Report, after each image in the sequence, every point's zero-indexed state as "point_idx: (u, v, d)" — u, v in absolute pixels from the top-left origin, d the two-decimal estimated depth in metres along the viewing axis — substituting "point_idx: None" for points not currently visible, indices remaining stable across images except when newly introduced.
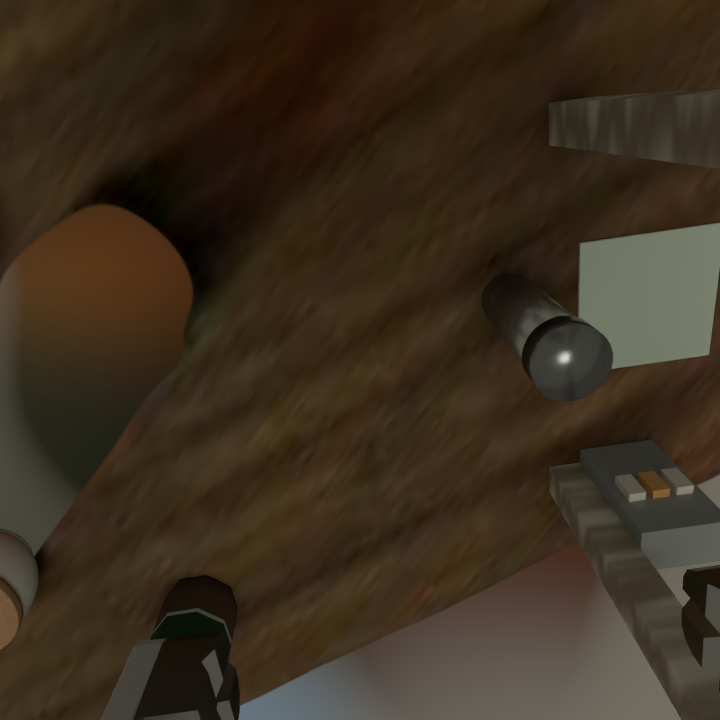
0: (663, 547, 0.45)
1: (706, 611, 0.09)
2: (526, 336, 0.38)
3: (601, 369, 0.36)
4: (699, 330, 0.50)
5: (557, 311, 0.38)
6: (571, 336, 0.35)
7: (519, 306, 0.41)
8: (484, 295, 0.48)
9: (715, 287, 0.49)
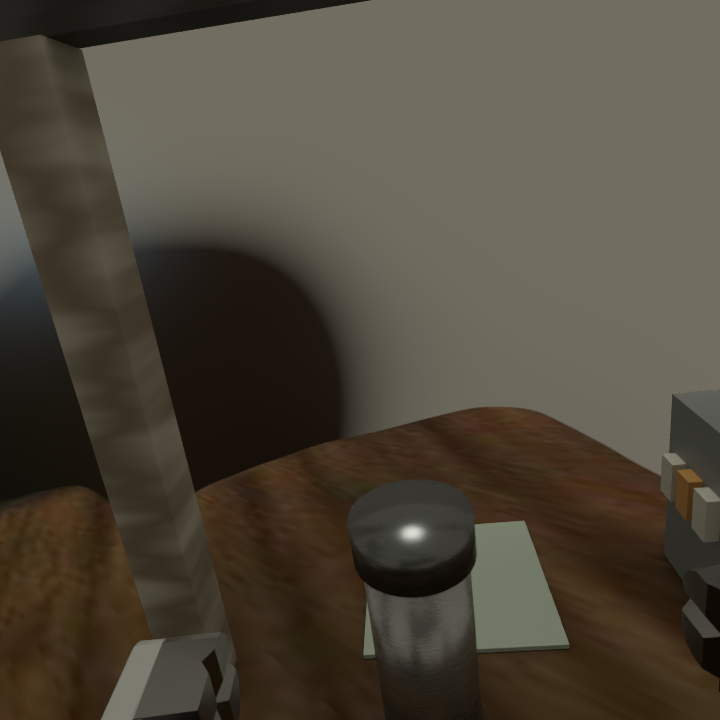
0: None
1: (706, 611, 0.09)
2: (389, 605, 0.22)
3: (423, 487, 0.25)
4: (493, 532, 0.43)
5: None
6: (363, 517, 0.23)
7: (382, 664, 0.24)
8: None
9: None
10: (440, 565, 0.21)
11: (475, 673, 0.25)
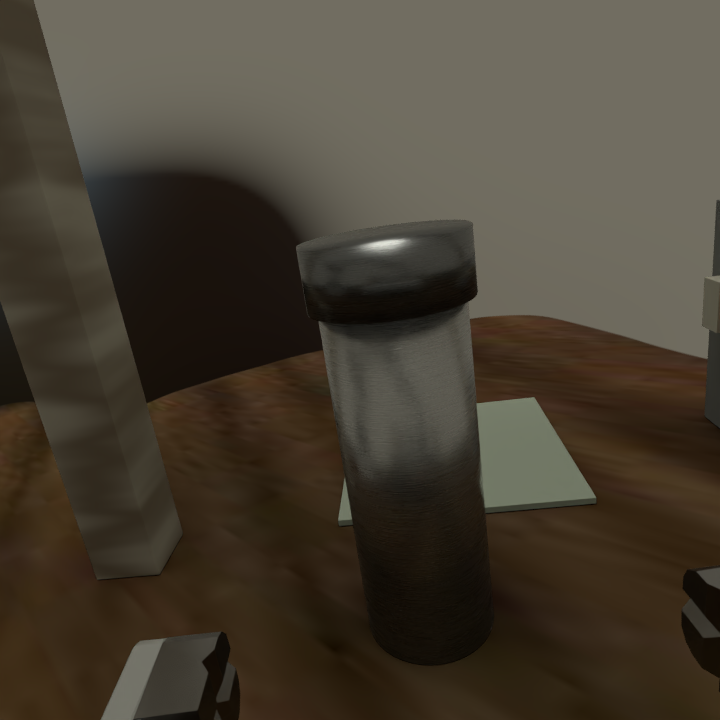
0: None
1: (706, 611, 0.09)
2: (354, 349, 0.16)
3: (403, 225, 0.18)
4: (497, 408, 0.36)
5: None
6: (318, 243, 0.17)
7: (349, 461, 0.18)
8: (410, 652, 0.19)
9: None
10: (424, 269, 0.15)
11: (478, 474, 0.18)
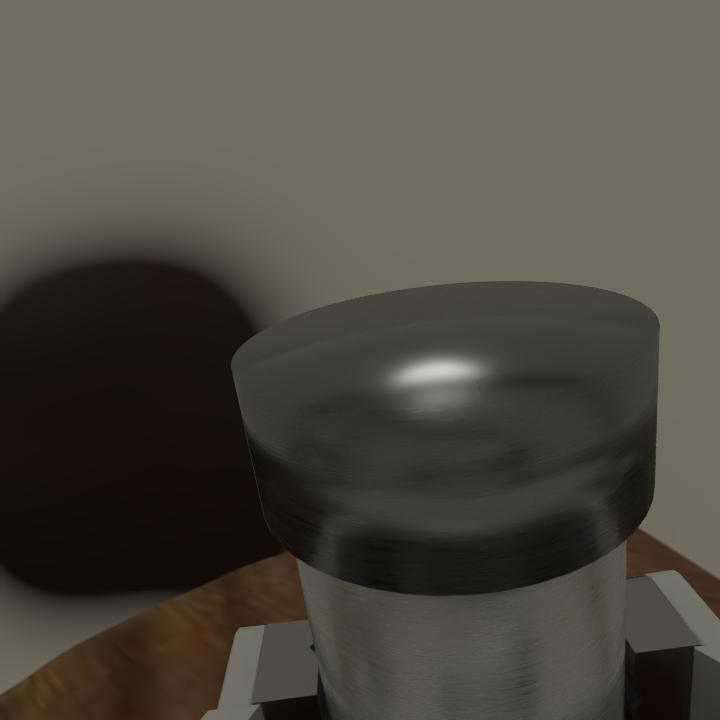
0: None
1: None
2: (366, 623, 0.06)
3: (464, 290, 0.09)
4: None
5: None
6: (284, 345, 0.07)
7: None
8: None
9: None
10: (567, 463, 0.05)
11: None
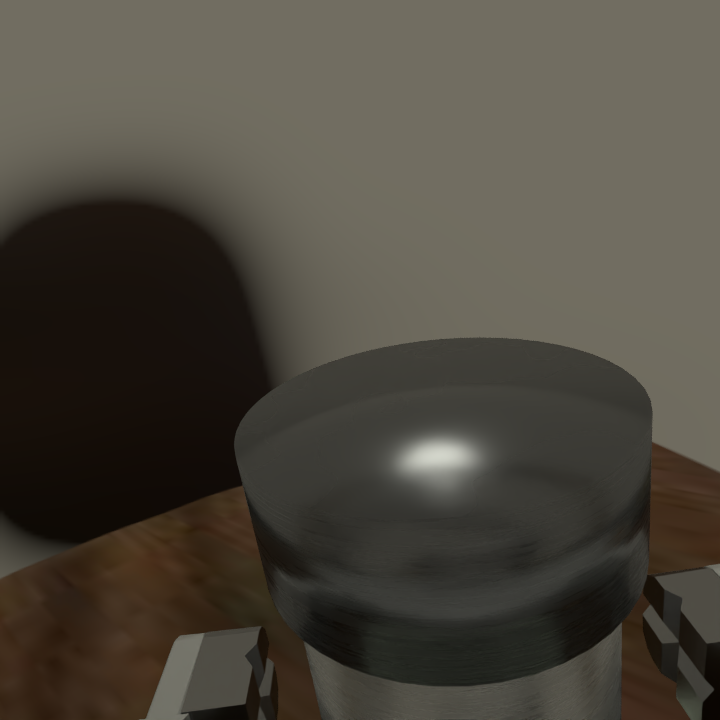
0: None
1: (664, 616, 0.09)
2: (368, 700, 0.07)
3: (462, 349, 0.09)
4: None
5: None
6: (286, 418, 0.08)
7: None
8: None
9: None
10: (562, 563, 0.05)
11: None
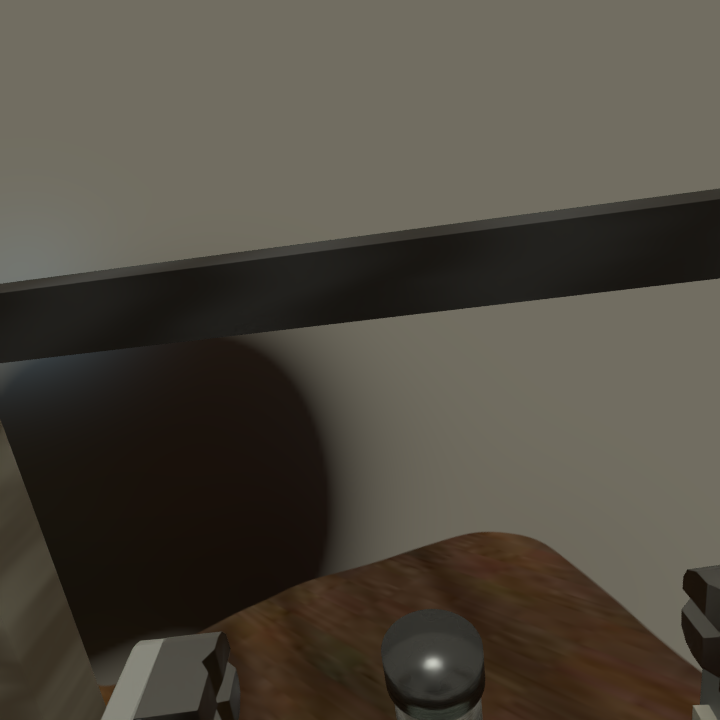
0: None
1: (706, 611, 0.09)
2: None
3: (440, 618, 0.31)
4: None
5: None
6: (393, 650, 0.29)
7: None
8: None
9: None
10: (457, 698, 0.27)
11: None
